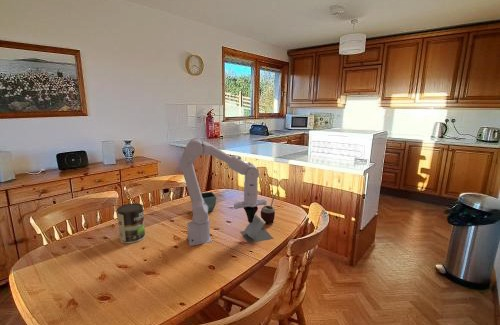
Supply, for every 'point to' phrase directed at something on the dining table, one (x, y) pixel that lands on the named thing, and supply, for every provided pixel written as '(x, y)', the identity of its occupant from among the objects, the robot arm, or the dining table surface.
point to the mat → (257, 236)
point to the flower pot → (209, 200)
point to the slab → (255, 226)
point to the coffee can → (131, 223)
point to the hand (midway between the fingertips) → (250, 221)
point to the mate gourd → (268, 213)
